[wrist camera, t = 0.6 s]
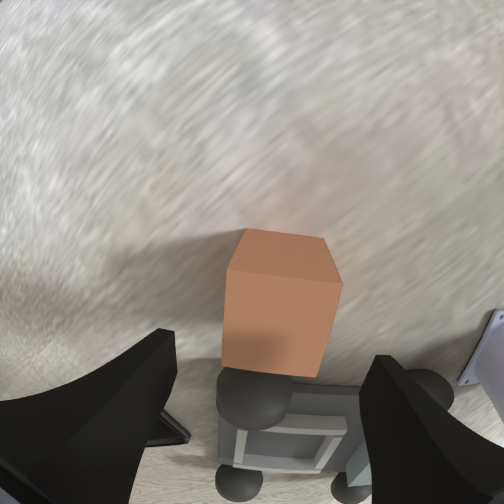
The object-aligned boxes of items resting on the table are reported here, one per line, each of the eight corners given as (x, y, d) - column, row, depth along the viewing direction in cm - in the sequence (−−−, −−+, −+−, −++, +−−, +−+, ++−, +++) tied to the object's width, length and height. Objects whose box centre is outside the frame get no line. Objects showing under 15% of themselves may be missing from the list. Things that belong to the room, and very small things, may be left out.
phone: (193, 442, 24) (110, 448, 28) (196, 434, 25) (113, 442, 29) (140, 395, 22) (67, 409, 26) (145, 386, 23) (71, 404, 27)
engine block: (323, 238, 16) (343, 283, 11) (309, 312, 18) (316, 377, 12) (246, 228, 17) (226, 269, 11) (239, 303, 18) (221, 366, 13)
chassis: (440, 367, 19) (462, 408, 14) (368, 470, 25) (372, 502, 20) (224, 355, 20) (209, 406, 15) (219, 463, 26) (211, 497, 21)
